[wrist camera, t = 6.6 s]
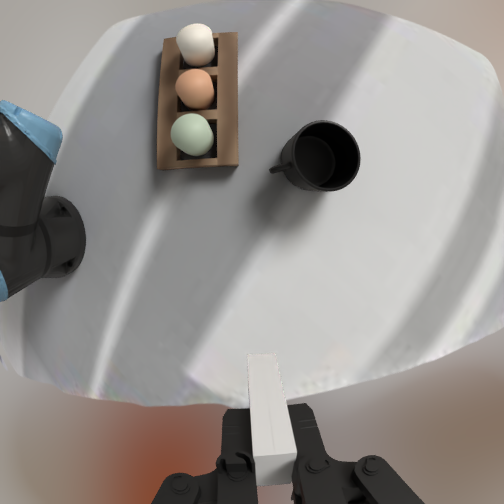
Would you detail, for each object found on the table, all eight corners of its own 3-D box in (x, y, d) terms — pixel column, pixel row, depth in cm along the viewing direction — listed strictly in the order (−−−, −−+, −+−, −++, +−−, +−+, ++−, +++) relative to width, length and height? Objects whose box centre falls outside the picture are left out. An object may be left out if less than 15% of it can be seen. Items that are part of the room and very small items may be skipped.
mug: (257, 144, 40) (262, 133, 31) (328, 127, 39) (348, 114, 31) (274, 201, 42) (284, 205, 33) (344, 182, 42) (368, 182, 33)
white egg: (182, 68, 34) (174, 51, 28) (184, 44, 32) (177, 26, 27) (214, 65, 34) (211, 48, 28) (215, 41, 33) (212, 22, 27)
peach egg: (183, 112, 37) (174, 101, 31) (184, 85, 36) (176, 70, 30) (214, 110, 37) (211, 98, 31) (215, 82, 36) (211, 67, 30)
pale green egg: (180, 157, 37) (170, 152, 31) (180, 125, 36) (171, 115, 30) (214, 155, 37) (209, 149, 31) (213, 122, 36) (209, 112, 30)
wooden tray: (162, 170, 40) (157, 169, 37) (167, 46, 34) (163, 38, 31) (238, 165, 40) (238, 164, 37) (237, 40, 35) (237, 32, 32)
